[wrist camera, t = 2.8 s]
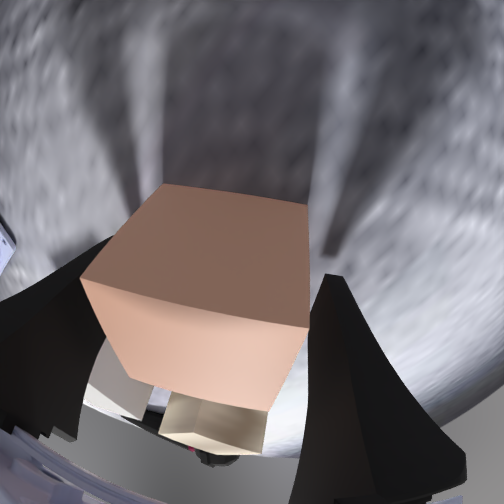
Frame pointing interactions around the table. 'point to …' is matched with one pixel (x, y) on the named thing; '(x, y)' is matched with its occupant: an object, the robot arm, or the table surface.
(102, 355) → the white block
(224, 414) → the birch block
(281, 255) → the peach block
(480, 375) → the table surface
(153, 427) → the microphone
